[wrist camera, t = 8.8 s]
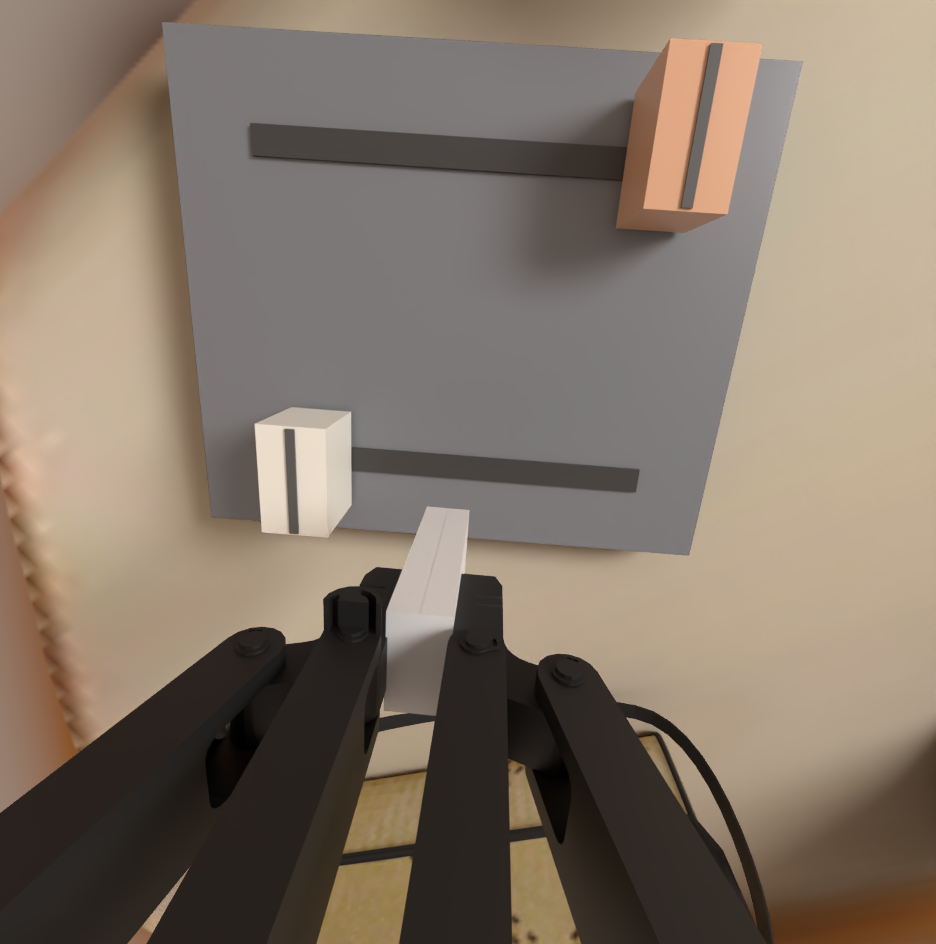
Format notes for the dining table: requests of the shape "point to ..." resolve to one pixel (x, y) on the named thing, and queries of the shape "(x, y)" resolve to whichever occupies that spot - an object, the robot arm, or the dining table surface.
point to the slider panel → (458, 278)
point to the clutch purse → (532, 866)
